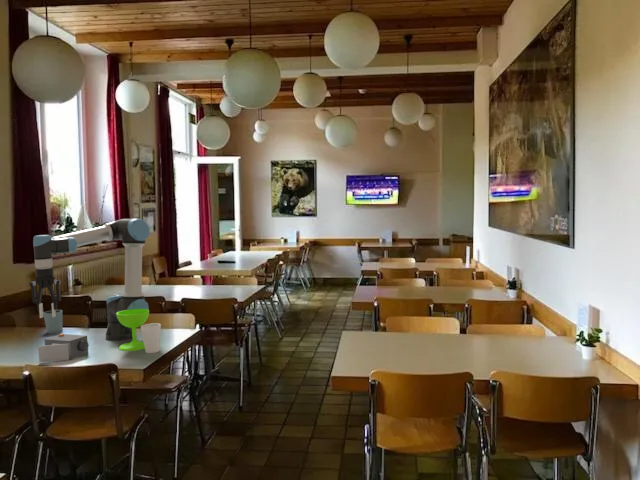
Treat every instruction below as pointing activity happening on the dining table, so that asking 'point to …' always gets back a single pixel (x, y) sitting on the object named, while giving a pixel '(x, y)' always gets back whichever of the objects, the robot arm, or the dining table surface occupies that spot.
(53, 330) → the drinking glass
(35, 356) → the dining table surface
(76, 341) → the camera body
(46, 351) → the side door
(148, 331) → the foam cup
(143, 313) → the wineglass
